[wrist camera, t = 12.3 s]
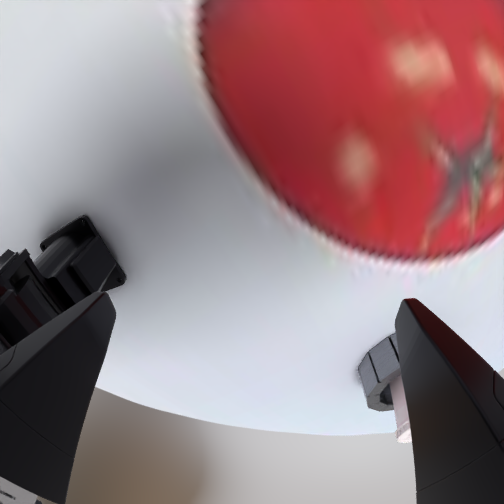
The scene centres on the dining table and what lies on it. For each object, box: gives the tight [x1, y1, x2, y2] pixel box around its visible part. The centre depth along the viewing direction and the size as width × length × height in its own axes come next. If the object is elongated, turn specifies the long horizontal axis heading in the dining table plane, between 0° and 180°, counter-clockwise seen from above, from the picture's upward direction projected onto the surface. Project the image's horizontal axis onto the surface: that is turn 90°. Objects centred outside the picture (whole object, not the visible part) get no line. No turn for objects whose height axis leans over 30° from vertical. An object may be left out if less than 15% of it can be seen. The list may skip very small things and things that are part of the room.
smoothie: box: [389, 375, 412, 443], centre depth 22 cm, size 6×6×14 cm
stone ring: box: [358, 333, 401, 411], centre depth 26 cm, size 10×10×4 cm
